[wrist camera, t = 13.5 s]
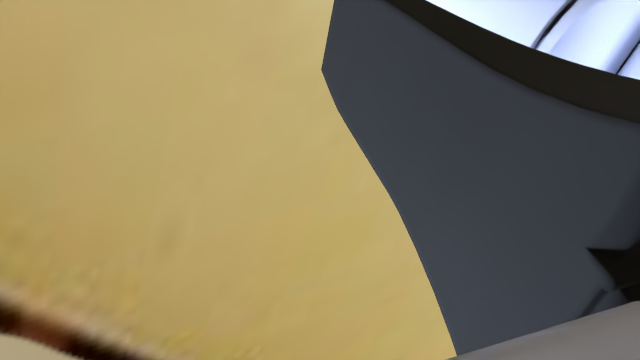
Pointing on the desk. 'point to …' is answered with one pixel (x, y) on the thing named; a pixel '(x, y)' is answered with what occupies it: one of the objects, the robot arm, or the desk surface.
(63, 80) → the desk surface
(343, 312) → the desk surface
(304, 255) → the desk surface
